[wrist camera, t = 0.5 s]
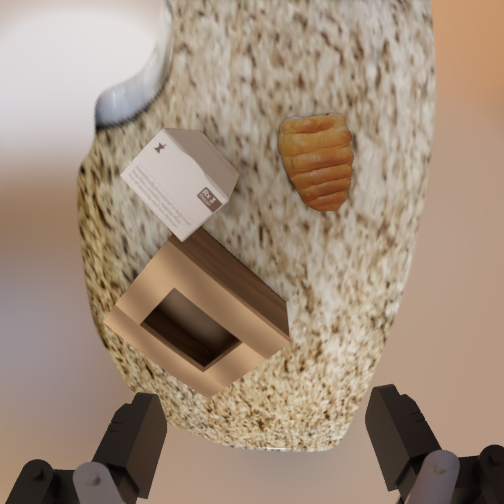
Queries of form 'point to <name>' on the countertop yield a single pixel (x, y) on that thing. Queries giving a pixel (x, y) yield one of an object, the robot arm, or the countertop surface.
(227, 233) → the countertop surface
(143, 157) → the skincare box
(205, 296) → the slot box
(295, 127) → the pastry
